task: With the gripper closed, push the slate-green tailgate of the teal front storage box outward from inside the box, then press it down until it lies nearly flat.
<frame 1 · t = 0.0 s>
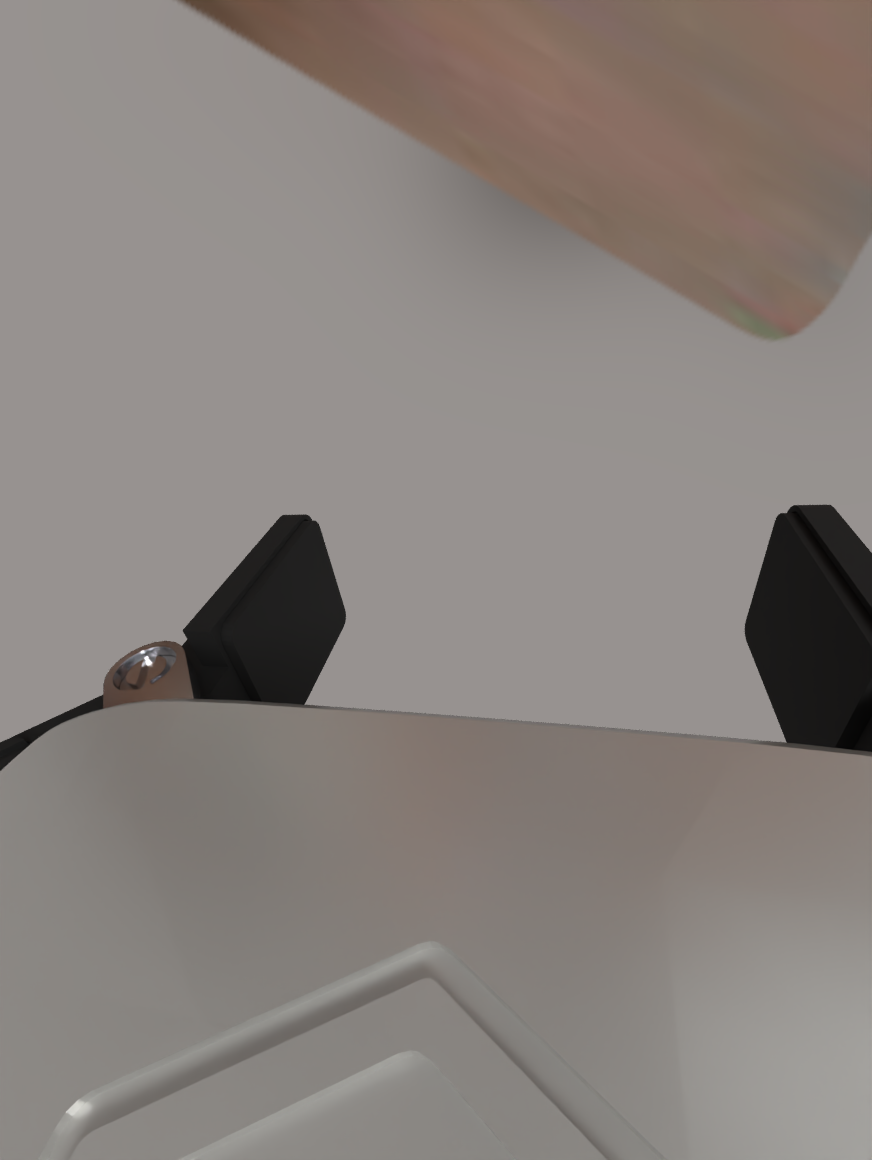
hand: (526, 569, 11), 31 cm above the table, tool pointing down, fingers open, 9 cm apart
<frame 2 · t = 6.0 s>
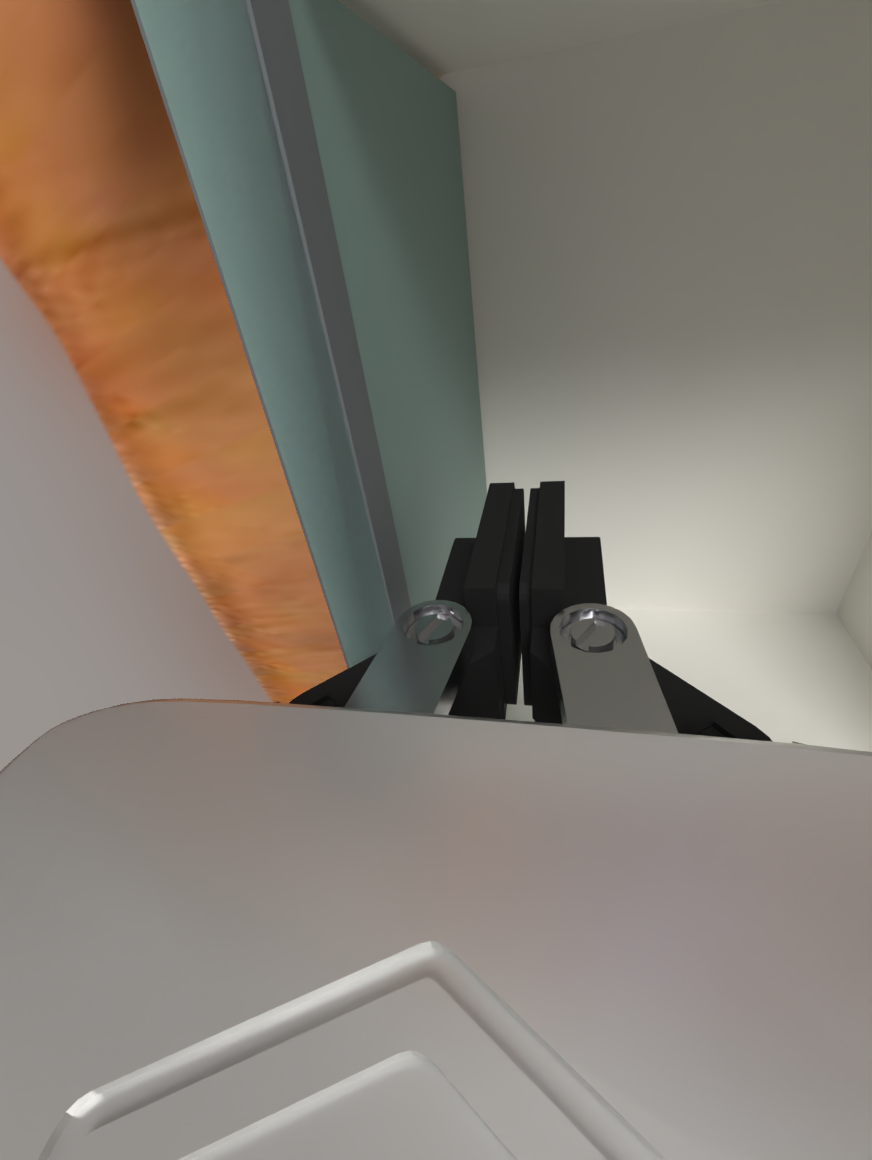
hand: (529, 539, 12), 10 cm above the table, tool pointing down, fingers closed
teal front storage box: (690, 392, 18), on the table
tailgate: (430, 488, 15), point 7 cm above the table, hinge at 0.7°, touching gripper
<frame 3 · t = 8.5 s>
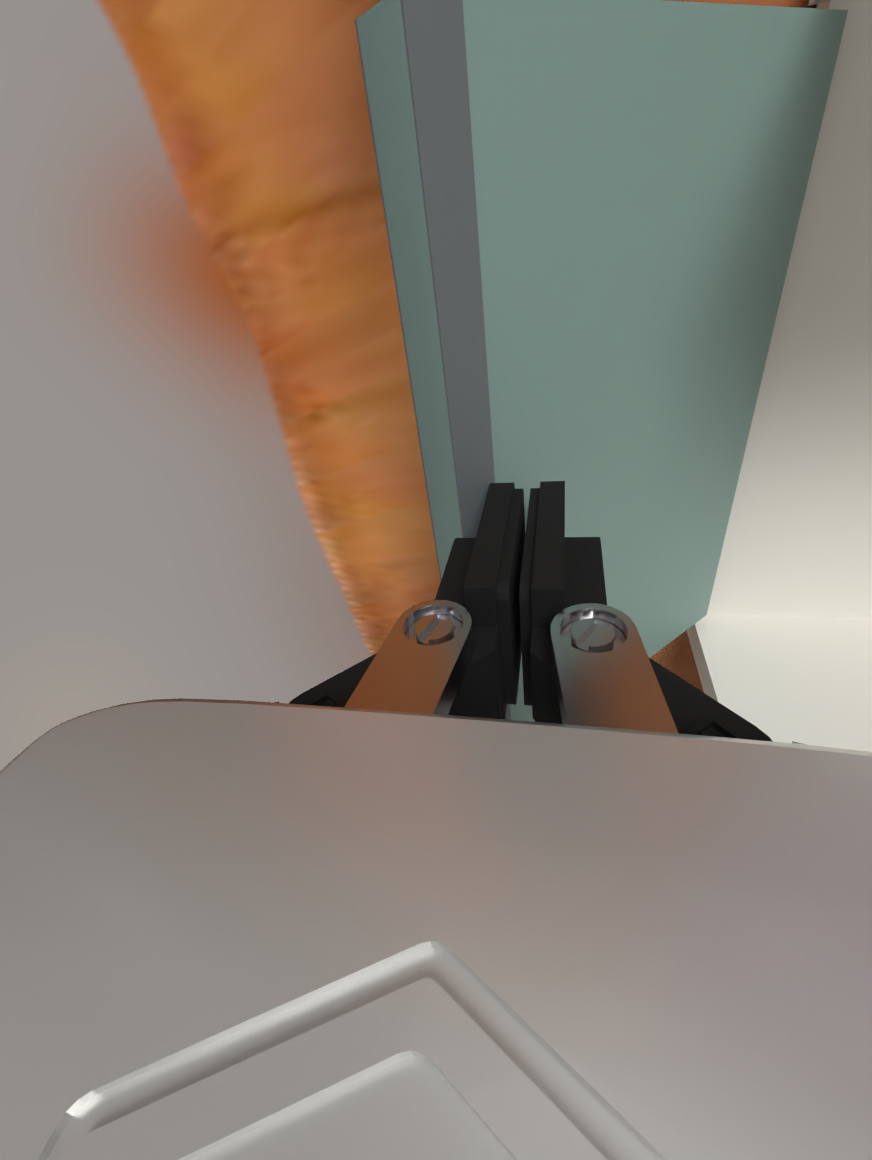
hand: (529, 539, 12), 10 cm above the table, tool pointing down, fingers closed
tailgate: (616, 462, 15), point 5 cm above the table, hinge at 43.8°
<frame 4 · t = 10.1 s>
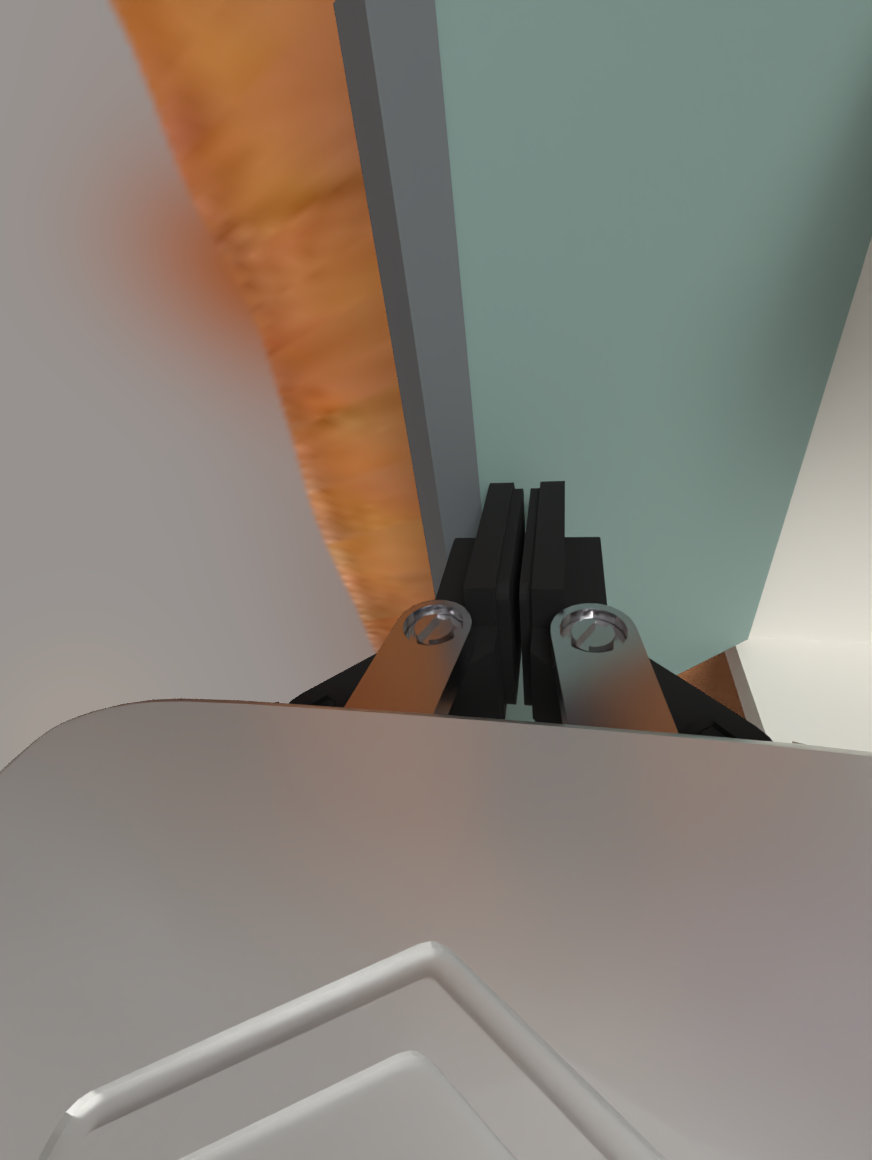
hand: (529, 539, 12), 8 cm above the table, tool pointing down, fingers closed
tailgate: (636, 467, 14), point 5 cm above the table, hinge at 53.5°, touching gripper
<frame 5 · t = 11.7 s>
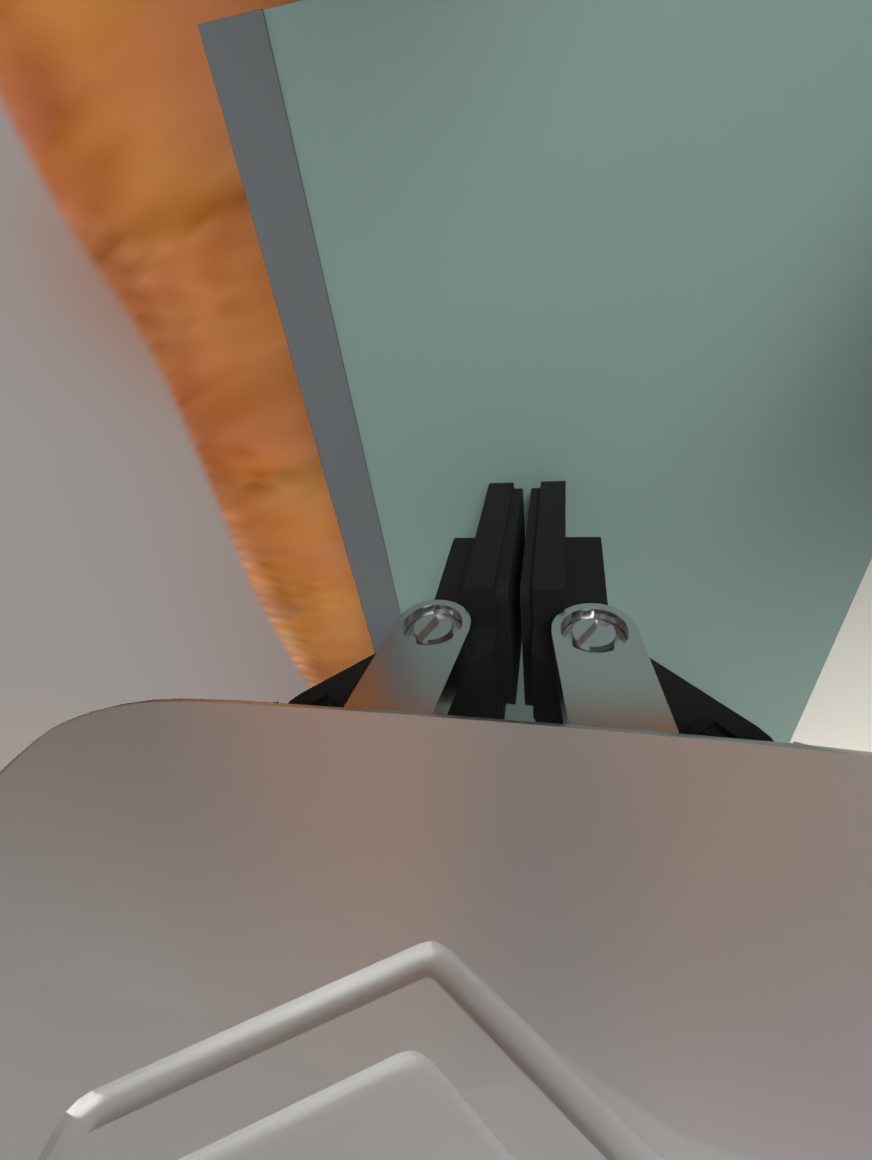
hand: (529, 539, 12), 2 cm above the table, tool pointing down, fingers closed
tailgate: (592, 513, 12), point 2 cm above the table, hinge at 84.3°, touching gripper
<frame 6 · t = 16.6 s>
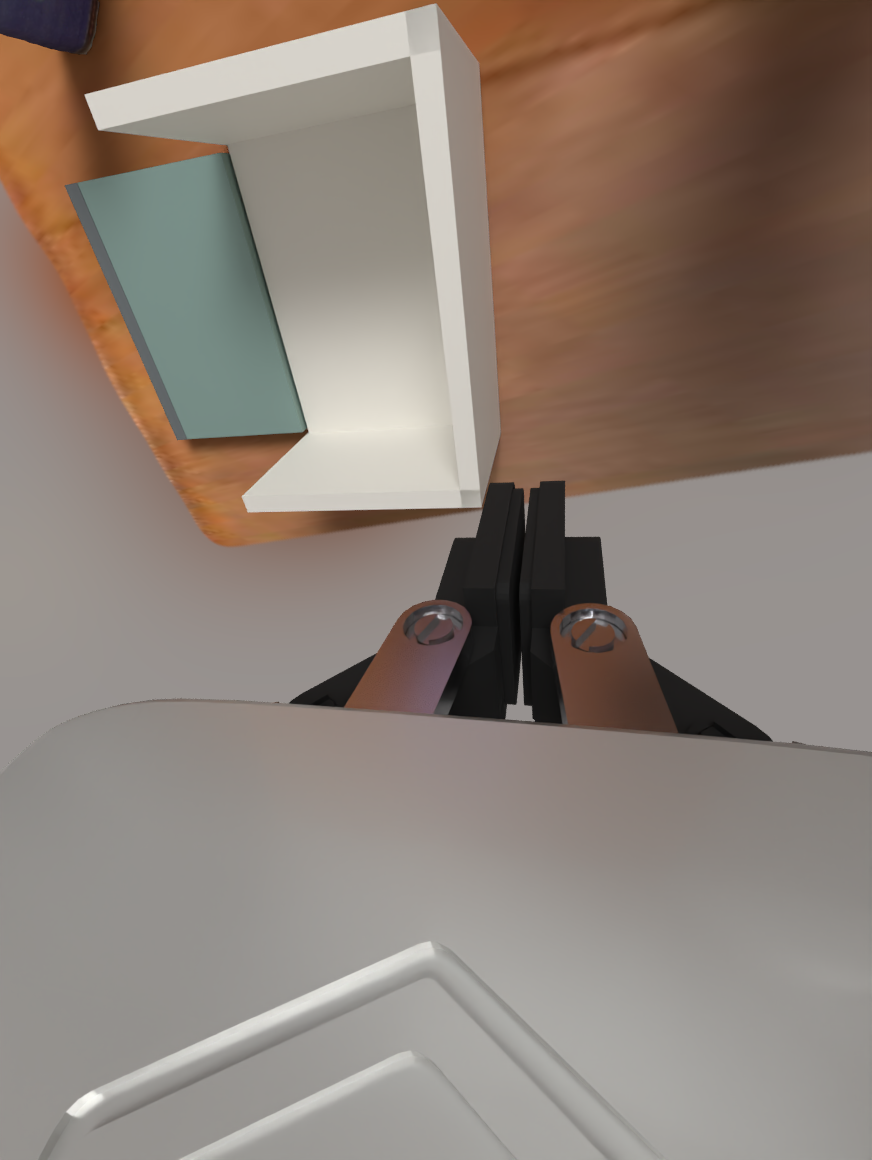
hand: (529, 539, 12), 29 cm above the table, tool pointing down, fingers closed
teal front storage box: (378, 295, 36), on the table
tailgate: (199, 319, 39), point 1 cm above the table, hinge at 90.1°
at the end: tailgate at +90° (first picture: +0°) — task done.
